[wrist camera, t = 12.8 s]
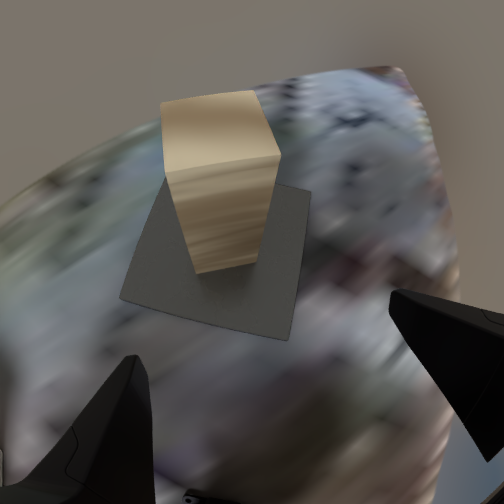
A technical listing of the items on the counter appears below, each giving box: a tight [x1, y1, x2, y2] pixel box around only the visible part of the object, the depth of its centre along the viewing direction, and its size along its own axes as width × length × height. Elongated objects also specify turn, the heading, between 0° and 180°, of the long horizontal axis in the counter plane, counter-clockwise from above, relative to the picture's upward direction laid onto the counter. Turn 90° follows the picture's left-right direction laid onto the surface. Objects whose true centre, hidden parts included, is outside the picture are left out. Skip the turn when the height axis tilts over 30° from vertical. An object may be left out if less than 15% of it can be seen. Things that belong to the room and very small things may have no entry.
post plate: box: [119, 177, 311, 341], centre depth 23 cm, size 14×14×4 cm
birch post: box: [161, 90, 281, 274], centre depth 19 cm, size 5×5×13 cm
